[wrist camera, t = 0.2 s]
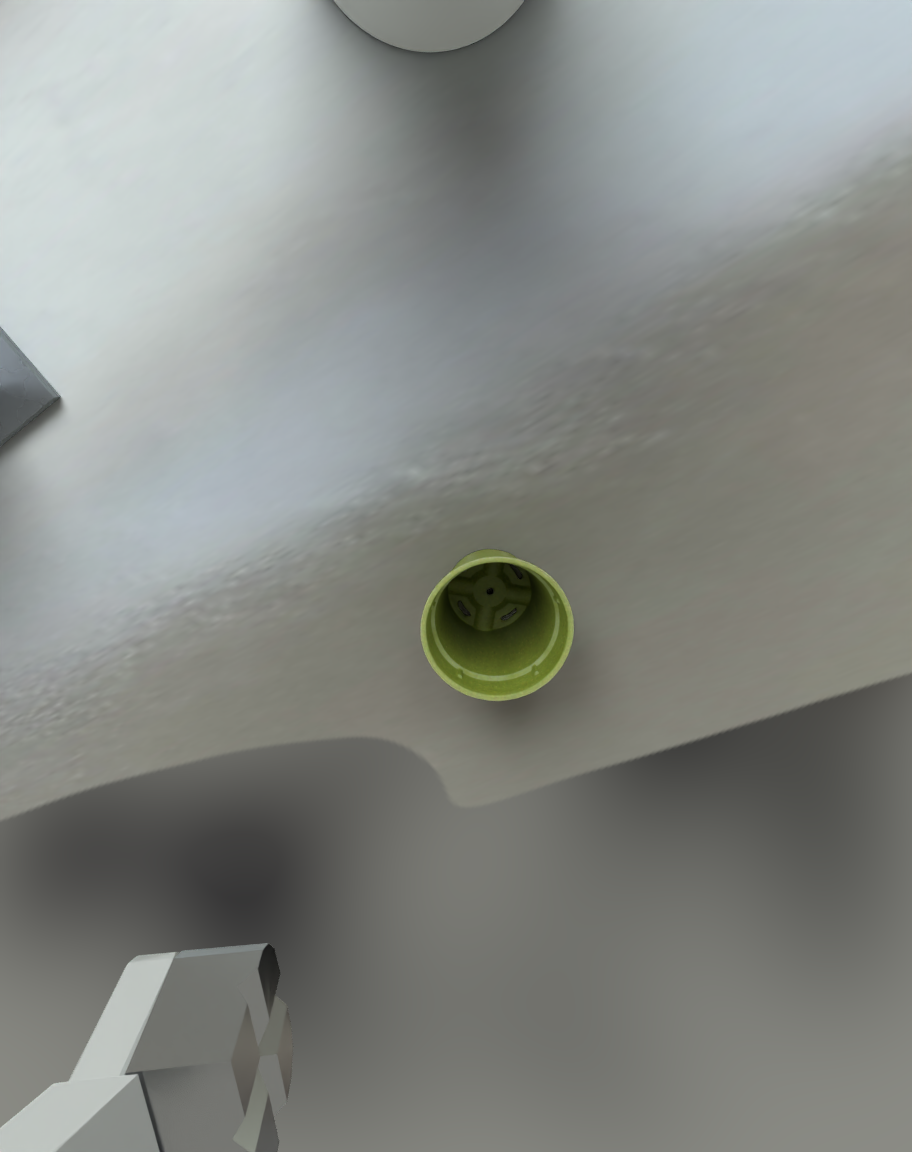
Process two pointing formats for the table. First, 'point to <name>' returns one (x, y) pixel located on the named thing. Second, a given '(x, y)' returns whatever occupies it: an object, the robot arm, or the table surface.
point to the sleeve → (20, 390)
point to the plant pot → (496, 627)
